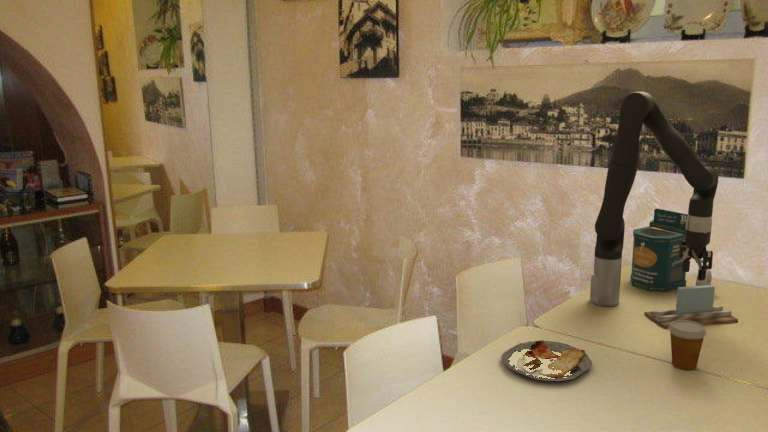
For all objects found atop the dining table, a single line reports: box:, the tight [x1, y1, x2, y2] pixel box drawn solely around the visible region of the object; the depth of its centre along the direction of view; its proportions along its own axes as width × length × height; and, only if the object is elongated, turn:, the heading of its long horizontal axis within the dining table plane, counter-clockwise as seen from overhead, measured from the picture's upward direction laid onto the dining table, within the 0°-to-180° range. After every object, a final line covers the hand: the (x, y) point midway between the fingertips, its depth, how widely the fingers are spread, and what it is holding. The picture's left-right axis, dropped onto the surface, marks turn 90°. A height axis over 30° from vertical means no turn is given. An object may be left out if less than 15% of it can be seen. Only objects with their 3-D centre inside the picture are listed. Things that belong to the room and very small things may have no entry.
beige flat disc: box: [695, 269, 713, 286], centre depth 234 cm, size 10×4×10 cm, turn 137°
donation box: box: [629, 208, 688, 293], centre depth 244 cm, size 16×16×28 cm
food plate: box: [501, 339, 593, 382], centre depth 183 cm, size 25×23×4 cm
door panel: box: [675, 284, 716, 315], centre depth 212 cm, size 12×2×10 cm, turn 98°
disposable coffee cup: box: [668, 320, 707, 371], centre depth 180 cm, size 10×10×12 cm
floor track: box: [643, 305, 739, 329], centre depth 213 cm, size 26×12×2 cm, turn 98°
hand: (693, 275), depth 210 cm, fingers open, 8 cm apart
